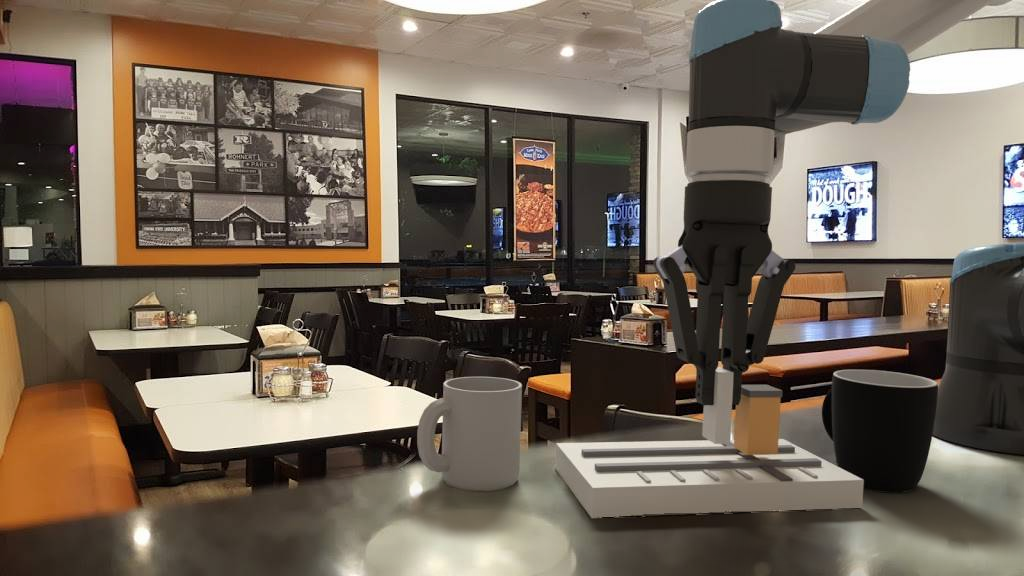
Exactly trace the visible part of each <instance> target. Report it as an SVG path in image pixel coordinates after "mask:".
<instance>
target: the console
mask: <svg viewBox="0 0 1024 576" xmlns="http://www.w3.org/2000/svg"><path fill="white" fill-rule="evenodd" d="M554 464H555V468H554V469H555V470H556V472H557V473H558V474H559V476H560V477H561V478H562V479H563V481H564V482H565V484H566V485H567V487H568V488H569V490H571V492H572V493H573V495H574V496H575V497H576V498H575V499H577V500H578V502H579V503H580V504H581V506H582V507H583V508H584V510H585V511H586V512H587V514H588V515H589V517H590V518H591V519H603V518H602V517H614V518H620V517H619V516H631V515H634V516H635V515H643V514H664V513H700V512H701V513H709V512H725V511H727V512H728V511H729V512H731V511H746V510H747V511H753V510H754V511H774V510H775V511H779V510H780V511H779V512H789V511H788V510H801V509H802V510H803V509H832V508H833V510H837V509H836V508H861V509H863V500H864V499H863V497H864V488H863V484H864V480H863V479H861V478H859V477H857V476H855V475H853V474H851V473H849V472H847V471H845V470H843V469H841V468H839V467H838V466H837V465H835V464H833V463H831V462H830V461H827V460H825V459H824V458H822V457H820V456H817V455H815V454H814V453H811V452H810V451H807V450H806V449H804V448H801V447H800V446H798V445H796V444H794V443H793V442H790V441H788V440H786V439H784V438H779V439H778V454H769V455H746V454H745V453H743V452H741V451H740V450H738V449H736V448H735V447H734V439H730V444H714V443H713V442H711V441H709V440H708V439H705V440H703V439H702V440H662V441H661V440H654V441H653V440H652V441H649V440H648V441H609V442H608V441H605V442H601V441H600V442H599V441H598V442H594V441H593V442H556V443H555V463H554ZM834 508H835V509H834ZM781 510H782V511H781ZM783 510H785V511H783ZM786 510H787V511H786ZM615 516H616V517H615ZM598 517H599V518H598Z"/></svg>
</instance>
